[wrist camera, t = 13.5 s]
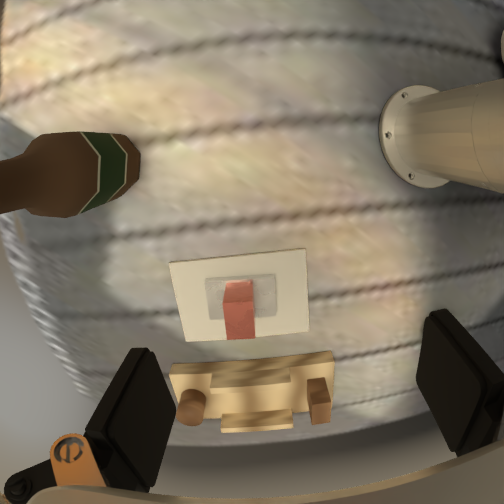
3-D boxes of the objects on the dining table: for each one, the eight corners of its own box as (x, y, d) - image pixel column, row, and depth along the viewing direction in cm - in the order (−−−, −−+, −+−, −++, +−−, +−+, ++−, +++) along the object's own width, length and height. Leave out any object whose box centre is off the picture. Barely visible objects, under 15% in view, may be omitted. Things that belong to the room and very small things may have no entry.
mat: (304, 248, 37) (305, 249, 36) (308, 329, 40) (309, 331, 40) (169, 262, 37) (168, 263, 37) (186, 339, 41) (186, 341, 40)
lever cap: (274, 273, 37) (277, 296, 31) (275, 311, 39) (279, 339, 33) (205, 277, 37) (197, 301, 31) (210, 315, 39) (204, 342, 33)
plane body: (330, 350, 41) (342, 386, 34) (328, 396, 44) (338, 431, 37) (172, 363, 42) (160, 399, 35) (186, 407, 45) (178, 442, 38)
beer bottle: (127, 208, 35) (-17, 293, 12) (77, 181, 34) (-80, 231, 11) (154, 148, 33) (5, 156, 10) (101, 123, 32) (-63, 114, 9)
